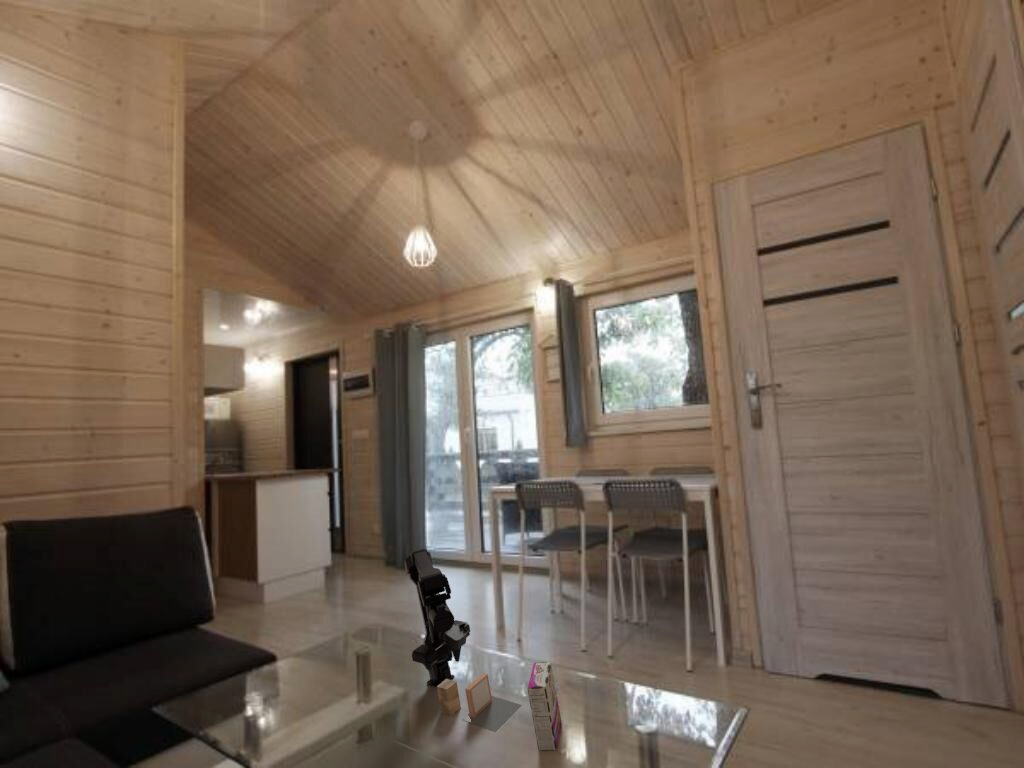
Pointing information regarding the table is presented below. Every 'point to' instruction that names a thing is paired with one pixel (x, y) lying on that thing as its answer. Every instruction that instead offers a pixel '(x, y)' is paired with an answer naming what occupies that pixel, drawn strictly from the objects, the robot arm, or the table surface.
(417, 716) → the table surface
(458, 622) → the robot arm
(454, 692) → the oak block
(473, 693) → the terracotta tile
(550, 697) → the candy bar box
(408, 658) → the table surface
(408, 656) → the table surface
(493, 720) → the rubber mat
